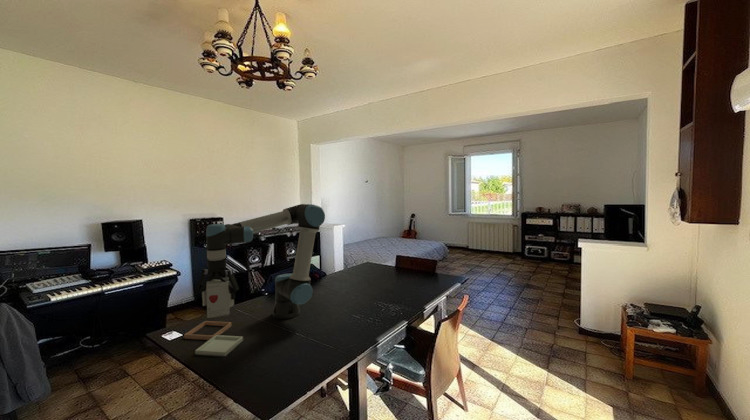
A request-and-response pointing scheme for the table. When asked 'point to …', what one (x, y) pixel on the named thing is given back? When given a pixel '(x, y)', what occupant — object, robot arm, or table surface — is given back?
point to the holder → (207, 337)
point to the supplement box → (217, 298)
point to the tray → (219, 345)
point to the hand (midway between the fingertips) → (218, 305)
